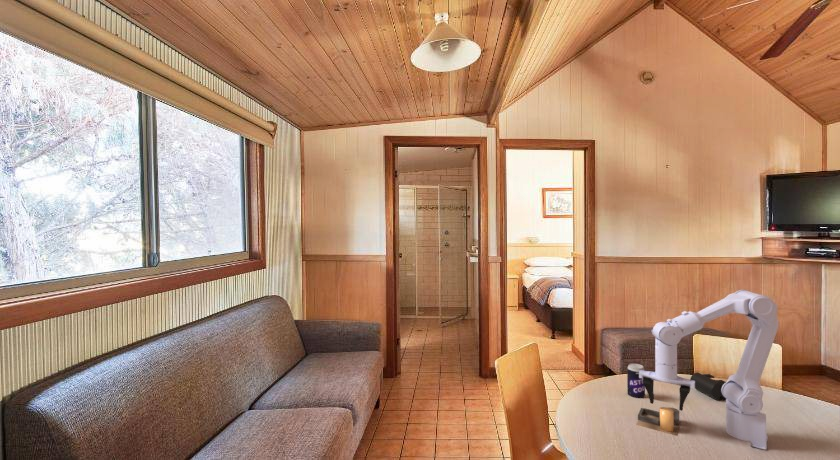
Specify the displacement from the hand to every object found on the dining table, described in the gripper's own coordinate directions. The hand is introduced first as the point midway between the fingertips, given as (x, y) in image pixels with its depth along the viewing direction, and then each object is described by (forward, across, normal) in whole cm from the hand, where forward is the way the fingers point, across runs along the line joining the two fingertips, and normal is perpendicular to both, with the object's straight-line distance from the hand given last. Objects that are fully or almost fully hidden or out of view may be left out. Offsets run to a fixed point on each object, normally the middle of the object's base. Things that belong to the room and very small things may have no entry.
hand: (666, 405), depth 121 cm
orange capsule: (+7, 0, 0) cm, 7 cm away
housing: (+8, +2, -2) cm, 9 cm away
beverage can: (+9, +12, -20) cm, 25 cm away
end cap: (+9, -9, -38) cm, 41 cm away
